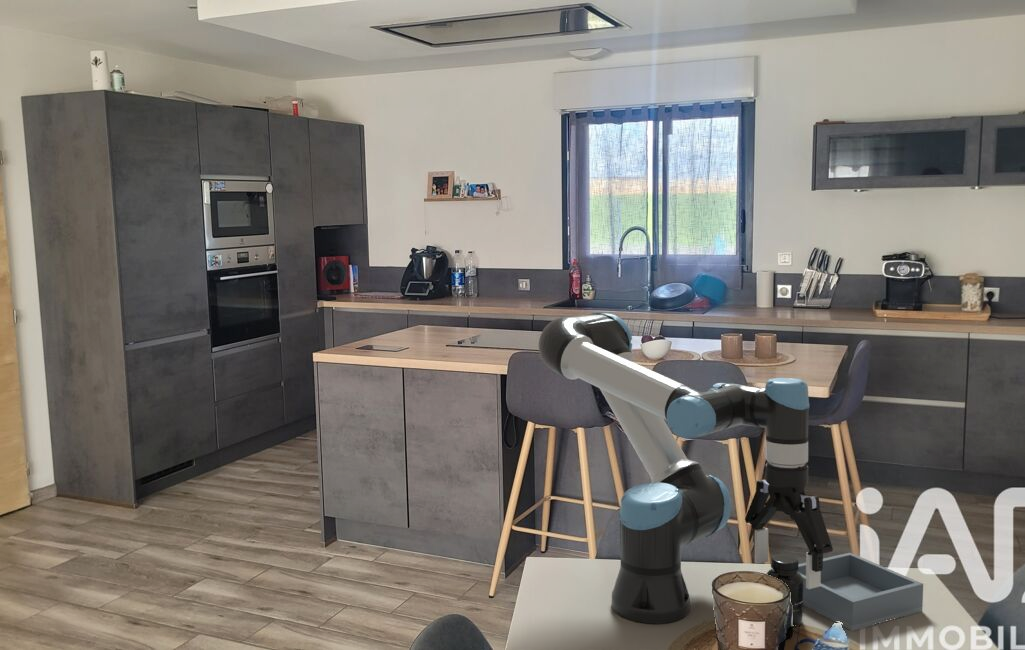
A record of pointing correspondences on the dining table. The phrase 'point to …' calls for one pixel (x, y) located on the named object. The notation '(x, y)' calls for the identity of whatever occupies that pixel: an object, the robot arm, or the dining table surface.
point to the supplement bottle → (790, 581)
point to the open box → (861, 592)
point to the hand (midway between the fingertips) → (786, 574)
